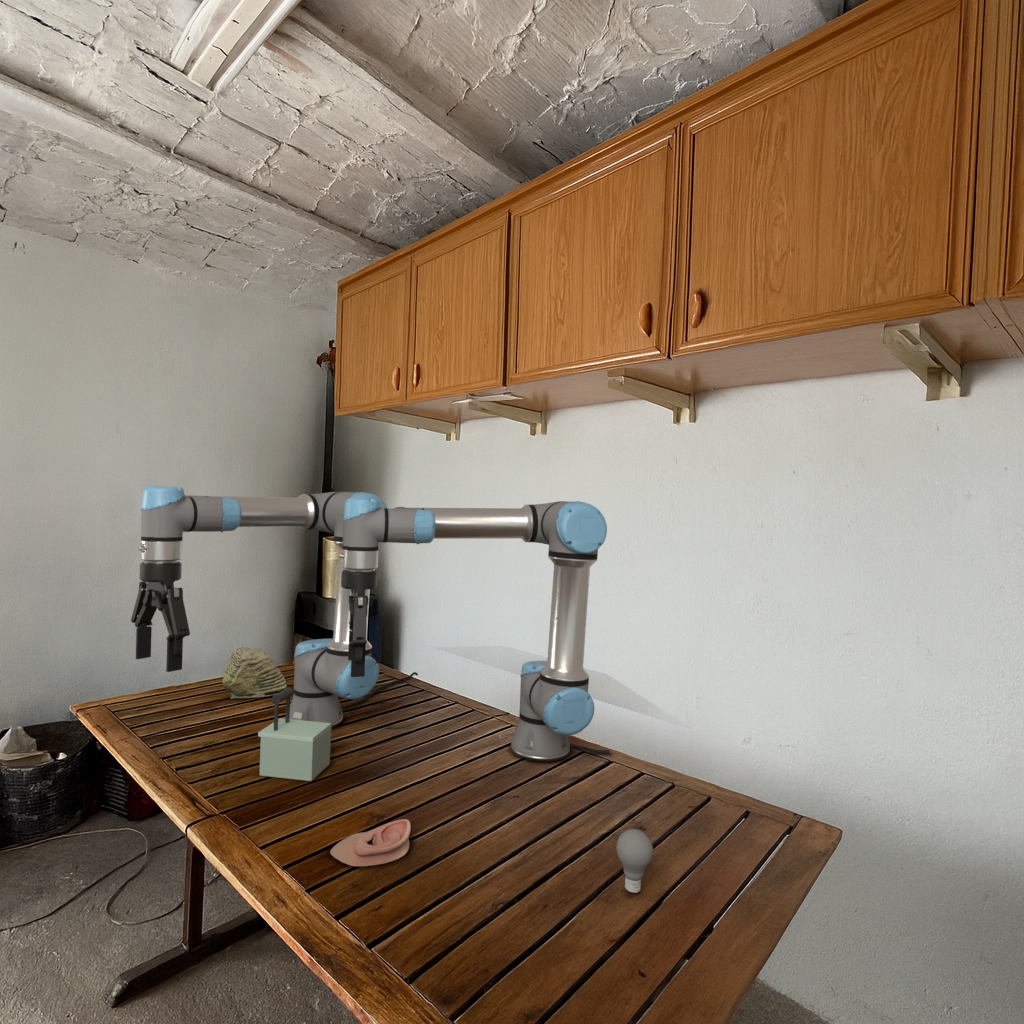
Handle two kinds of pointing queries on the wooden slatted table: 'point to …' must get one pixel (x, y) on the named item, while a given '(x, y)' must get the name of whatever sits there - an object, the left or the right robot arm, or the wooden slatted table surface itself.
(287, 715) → the lid
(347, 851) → the anatomical model
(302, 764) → the chest
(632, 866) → the light bulb
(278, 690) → the fossil
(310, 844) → the wooden slatted table surface
